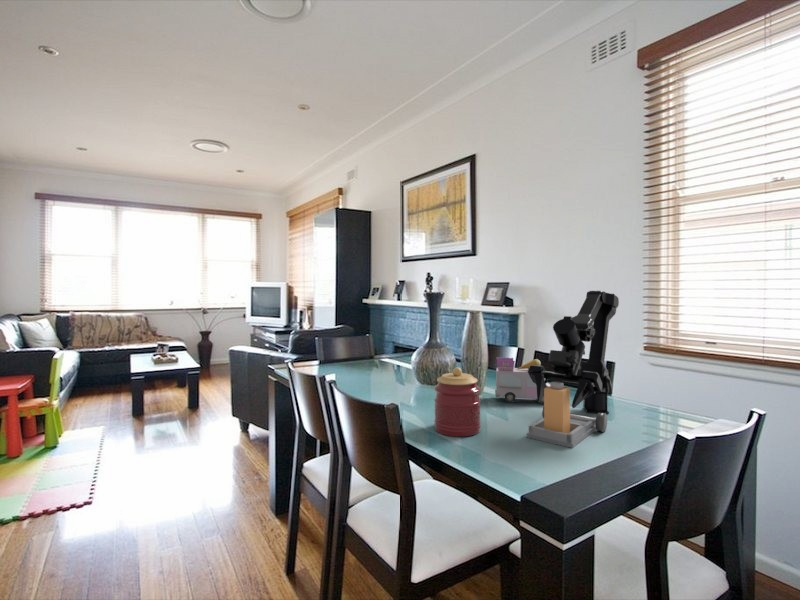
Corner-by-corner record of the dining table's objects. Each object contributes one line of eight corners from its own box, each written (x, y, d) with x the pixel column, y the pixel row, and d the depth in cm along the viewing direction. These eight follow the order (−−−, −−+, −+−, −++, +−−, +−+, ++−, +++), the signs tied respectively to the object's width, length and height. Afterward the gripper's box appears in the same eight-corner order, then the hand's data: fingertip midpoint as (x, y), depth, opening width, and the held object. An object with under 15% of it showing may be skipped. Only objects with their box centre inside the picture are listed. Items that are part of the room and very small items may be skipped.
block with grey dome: (551, 428, 117) (551, 379, 117) (569, 432, 114) (570, 382, 114) (544, 433, 114) (544, 382, 113) (562, 437, 110) (563, 385, 110)
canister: (442, 420, 129) (441, 362, 128) (485, 425, 124) (484, 365, 123) (428, 434, 117) (427, 369, 116) (475, 440, 112) (474, 373, 111)
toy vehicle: (554, 406, 144) (554, 361, 144) (495, 403, 148) (495, 360, 148) (550, 399, 153) (550, 357, 153) (495, 396, 157) (495, 356, 157)
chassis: (550, 417, 131) (550, 401, 131) (608, 428, 120) (608, 411, 120) (518, 435, 115) (518, 416, 115) (582, 450, 104) (582, 429, 104)
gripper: (530, 336, 122) (512, 381, 114) (599, 341, 110) (584, 391, 102) (541, 360, 129) (525, 404, 120) (608, 367, 116) (595, 417, 108)
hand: (555, 404), depth 113 cm, fingers open, 9 cm apart
